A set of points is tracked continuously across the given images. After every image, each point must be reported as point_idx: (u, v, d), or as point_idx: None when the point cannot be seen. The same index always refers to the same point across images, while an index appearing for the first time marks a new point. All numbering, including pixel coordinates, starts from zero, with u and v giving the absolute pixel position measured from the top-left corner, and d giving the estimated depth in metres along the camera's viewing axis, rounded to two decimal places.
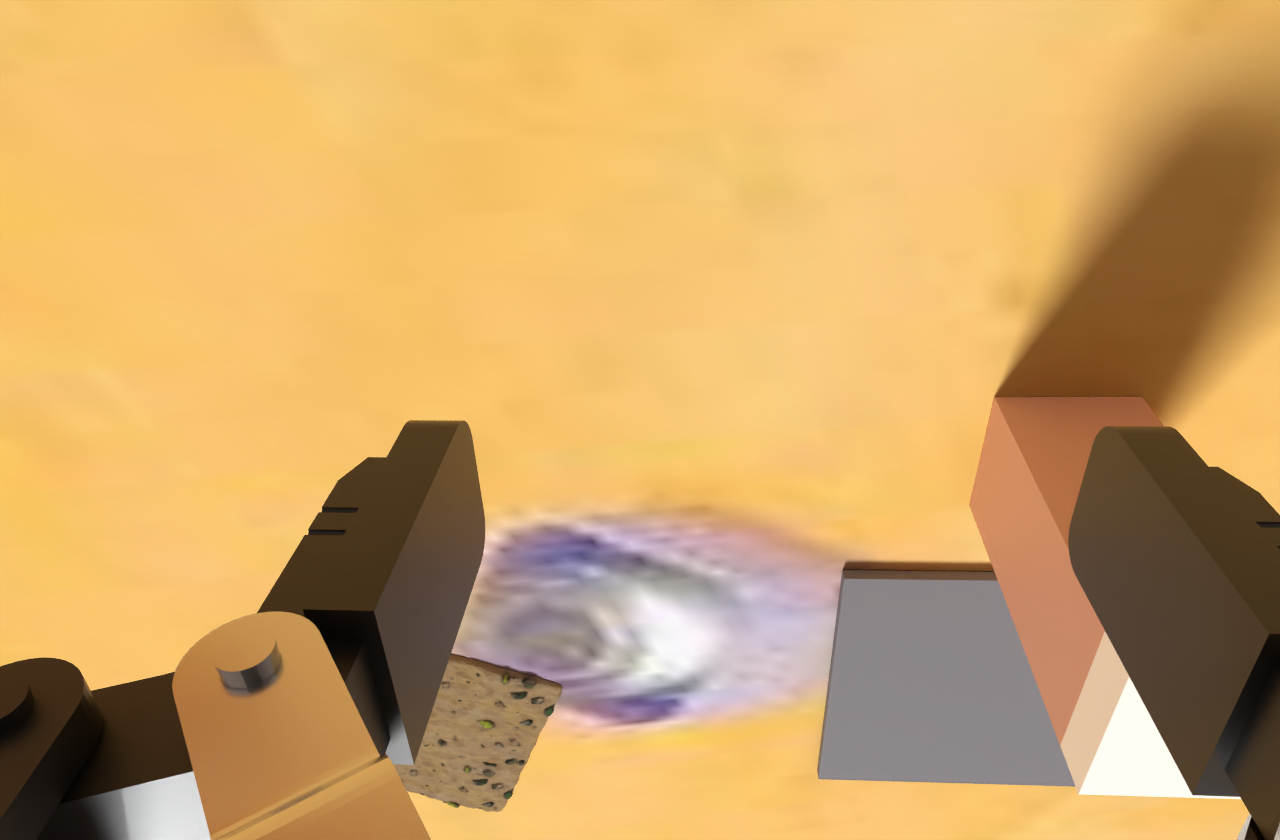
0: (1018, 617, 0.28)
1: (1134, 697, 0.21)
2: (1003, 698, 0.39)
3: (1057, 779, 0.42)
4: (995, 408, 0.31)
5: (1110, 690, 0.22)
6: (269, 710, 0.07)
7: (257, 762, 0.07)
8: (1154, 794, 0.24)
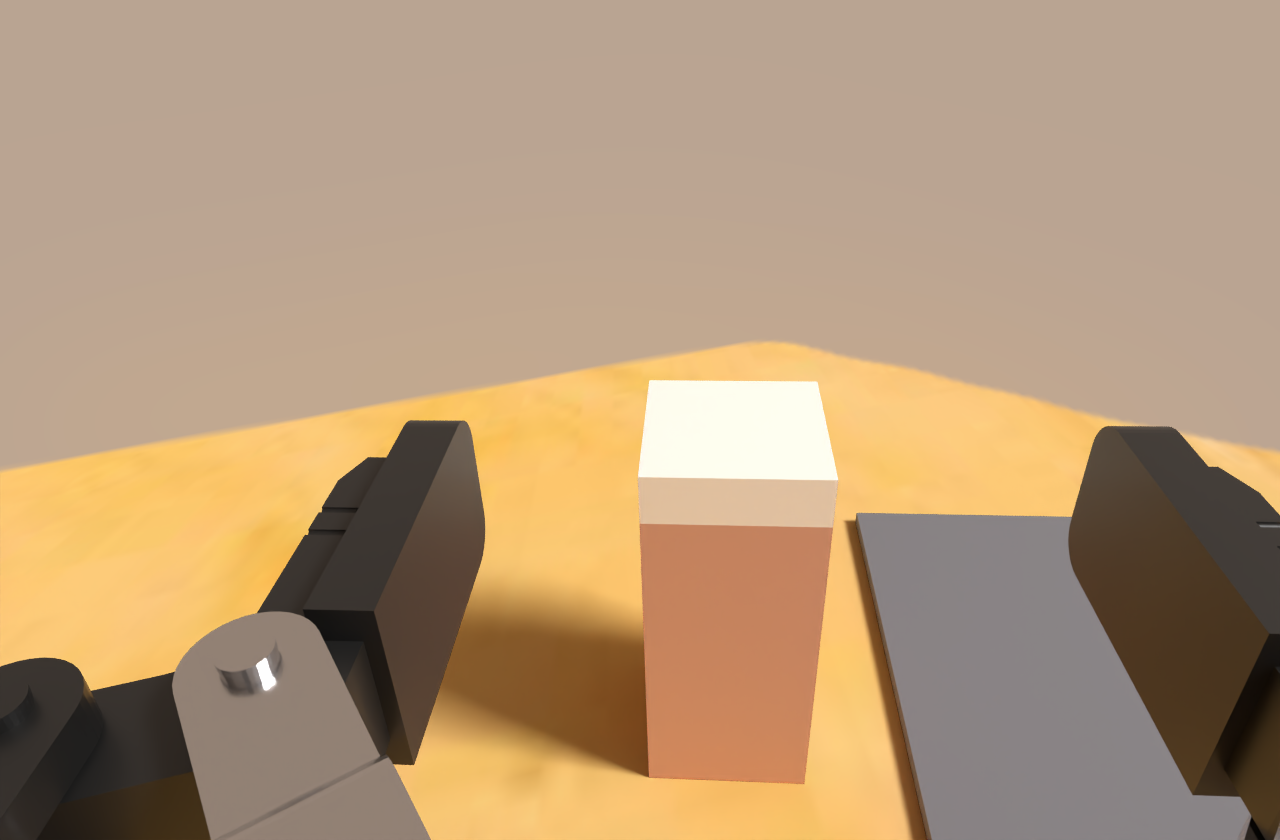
0: (803, 649, 0.25)
1: (671, 470, 0.22)
2: (1120, 703, 0.30)
3: None
4: (657, 771, 0.28)
5: (682, 491, 0.22)
6: (269, 708, 0.07)
7: (257, 761, 0.07)
8: (826, 437, 0.23)
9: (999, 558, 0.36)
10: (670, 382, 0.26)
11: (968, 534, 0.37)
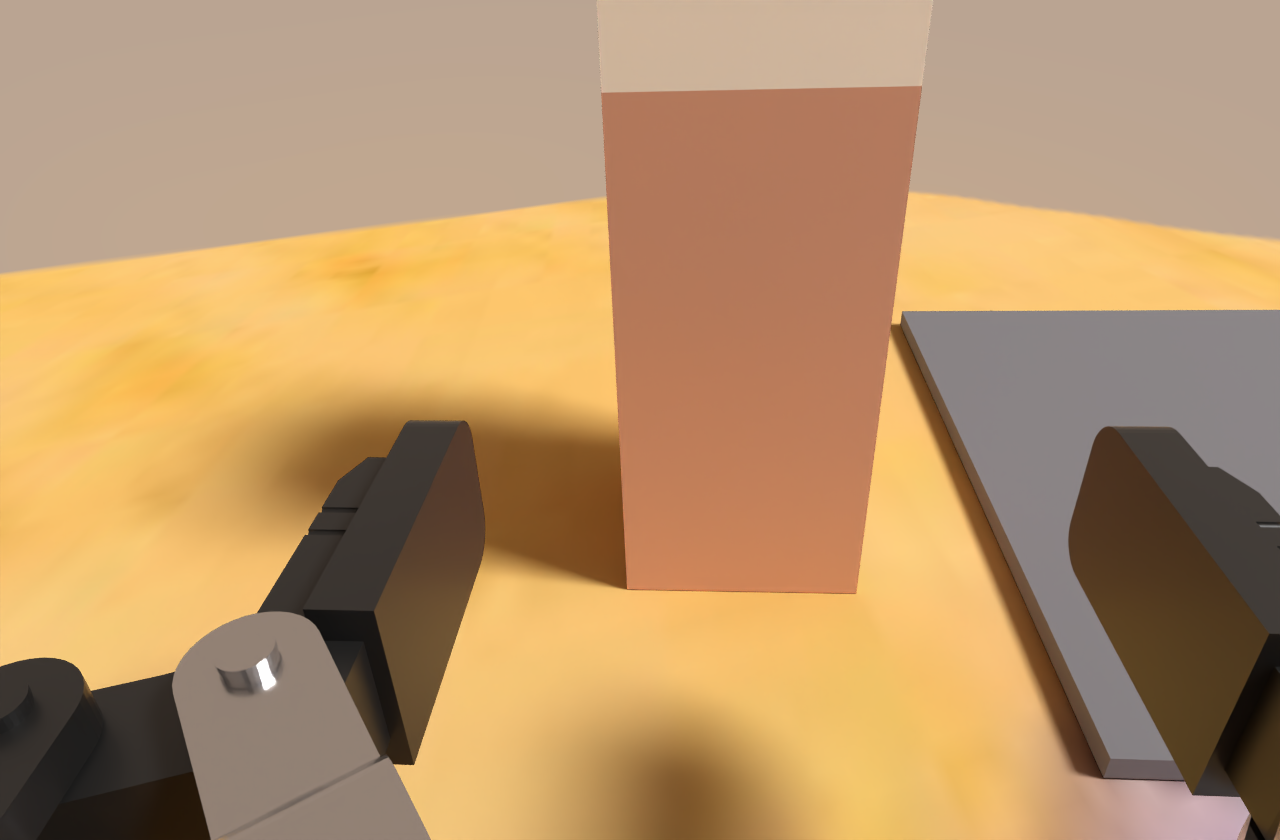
0: (863, 343, 0.16)
1: None
2: None
3: None
4: (639, 578, 0.19)
5: (670, 16, 0.13)
6: (270, 708, 0.07)
7: (257, 762, 0.07)
8: None
9: (1098, 349, 0.27)
10: None
11: (1051, 328, 0.28)
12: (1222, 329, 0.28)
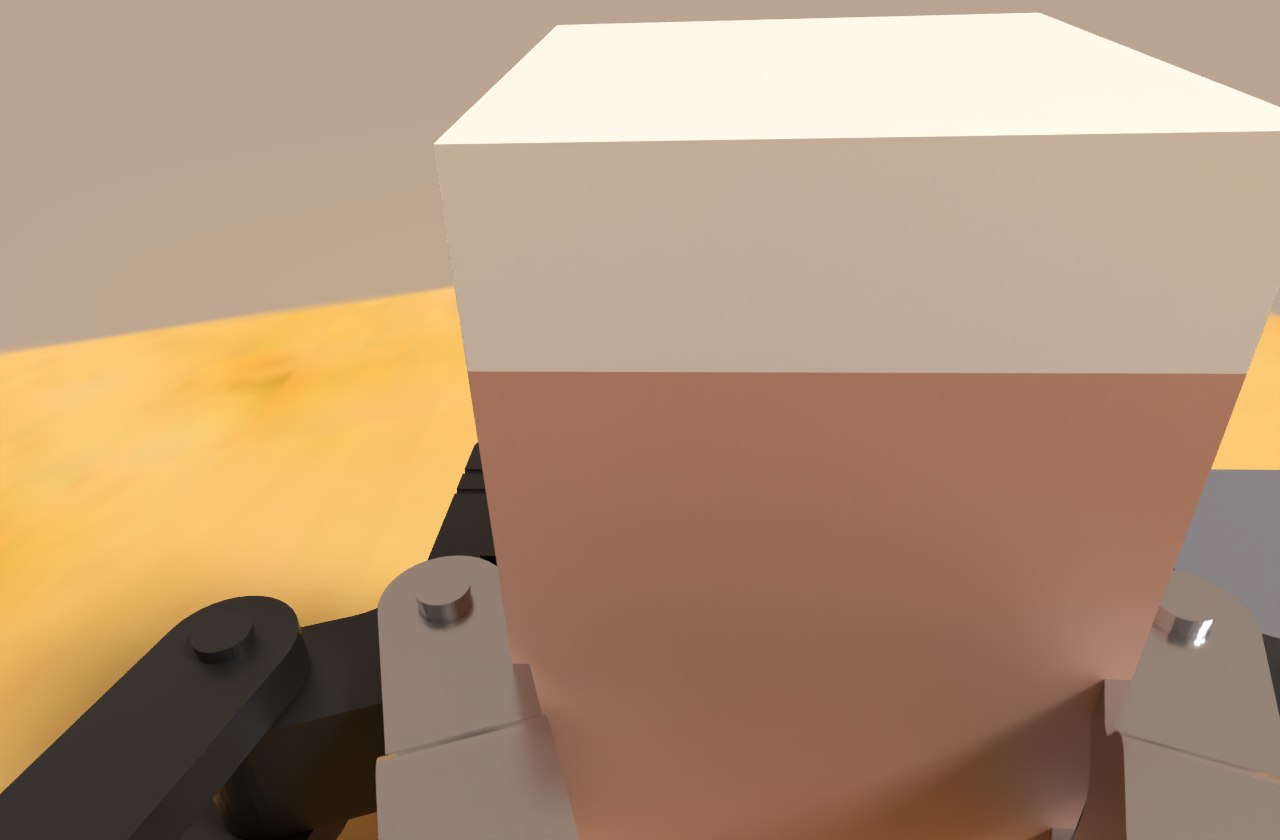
0: (1032, 808, 0.08)
1: (582, 128, 0.05)
2: None
3: None
4: None
5: (626, 213, 0.05)
6: (453, 645, 0.08)
7: (477, 684, 0.07)
8: (1162, 65, 0.06)
9: (1268, 545, 0.19)
10: (615, 24, 0.09)
11: None
12: None
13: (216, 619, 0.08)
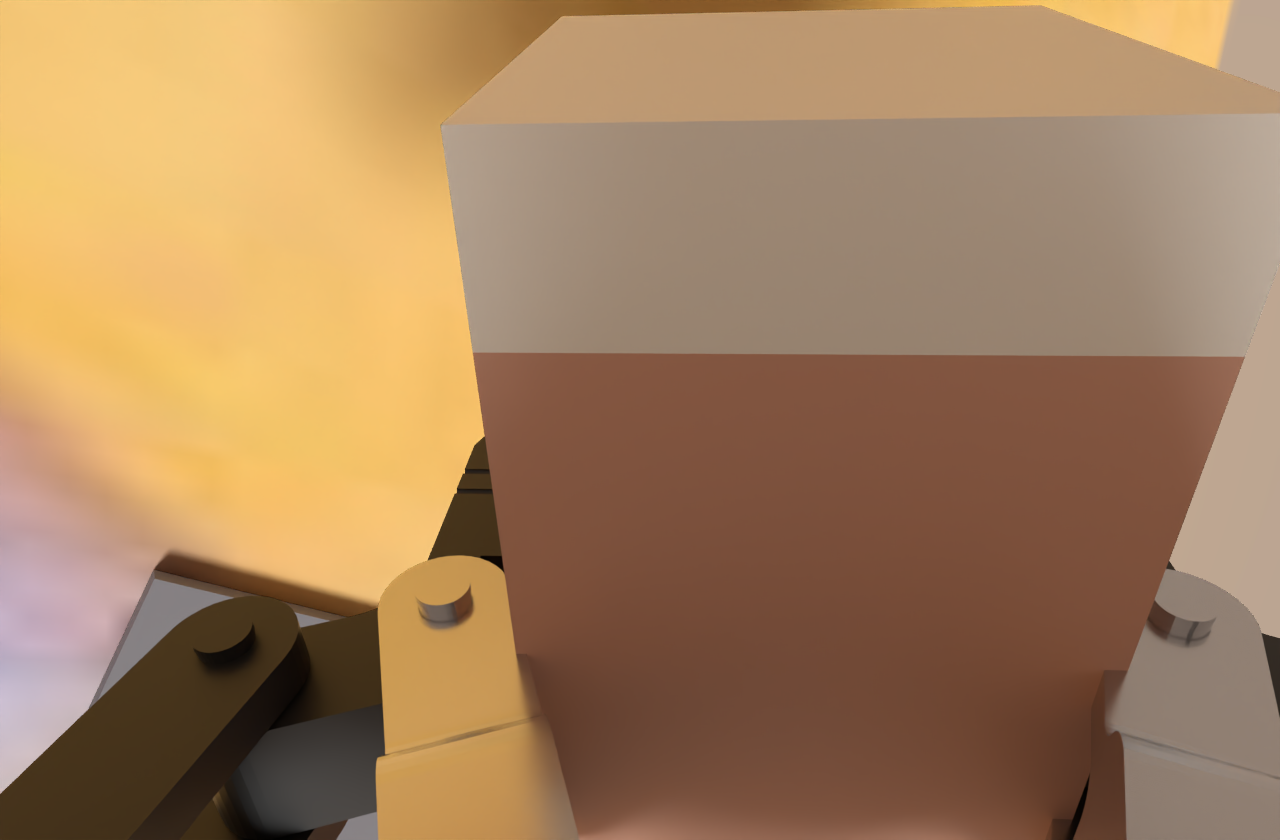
0: (1031, 793, 0.08)
1: (589, 110, 0.05)
2: None
3: None
4: None
5: (631, 194, 0.05)
6: (454, 645, 0.08)
7: (477, 684, 0.07)
8: (1163, 53, 0.06)
9: None
10: (620, 17, 0.09)
11: None
12: None
13: (216, 619, 0.08)
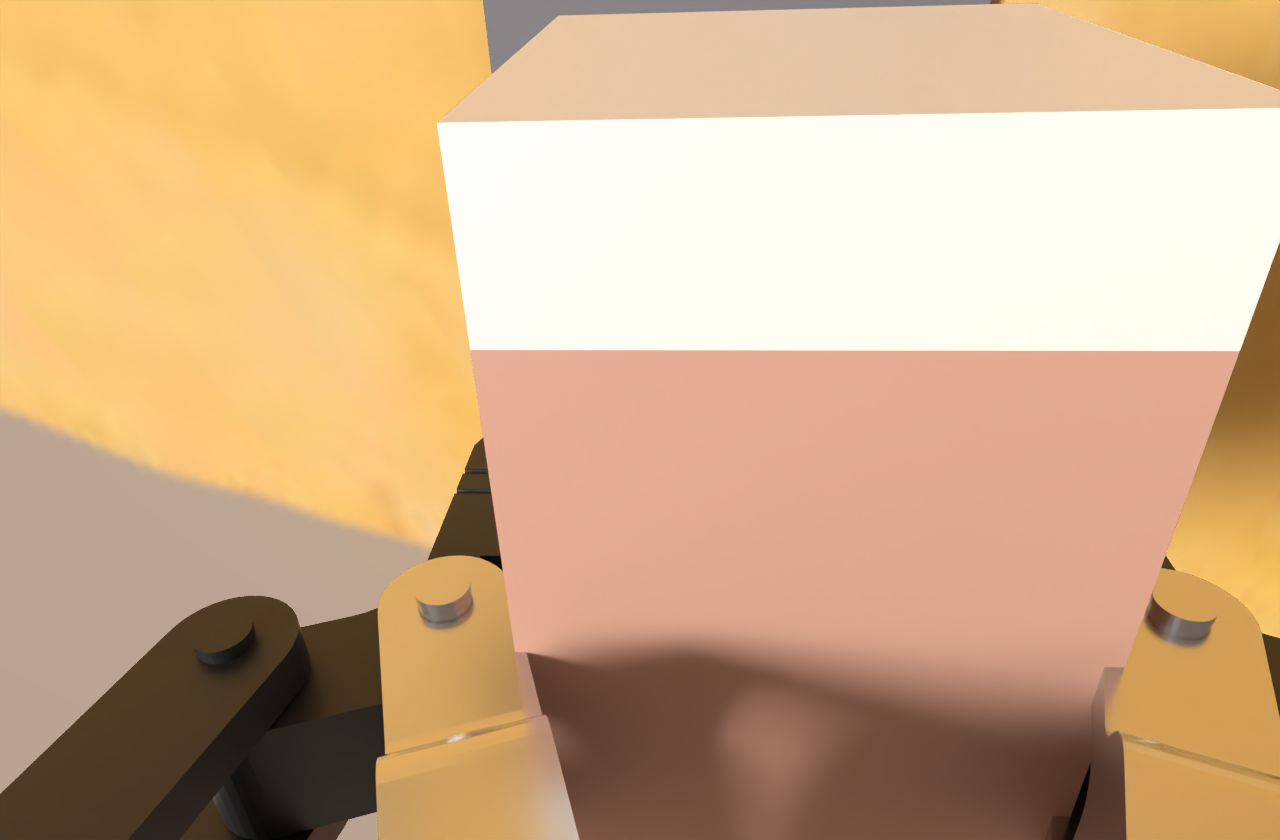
0: (1029, 789, 0.08)
1: (584, 108, 0.05)
2: None
3: None
4: None
5: (627, 191, 0.05)
6: (454, 646, 0.08)
7: (476, 684, 0.07)
8: (1157, 51, 0.06)
9: None
10: (616, 15, 0.09)
11: None
12: None
13: (216, 619, 0.08)
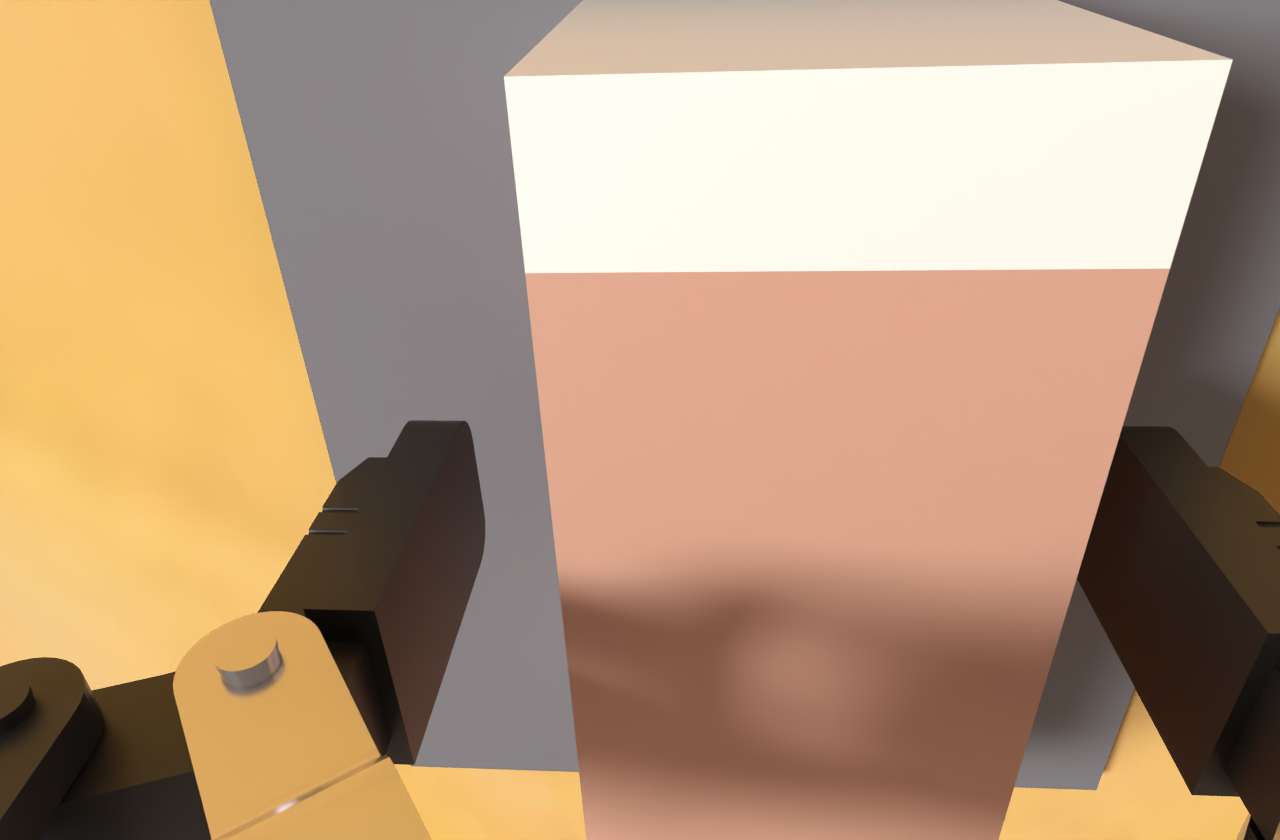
0: (1004, 673, 0.09)
1: (623, 65, 0.07)
2: None
3: None
4: None
5: (660, 134, 0.06)
6: (269, 708, 0.07)
7: (258, 761, 0.07)
8: (1108, 19, 0.08)
9: None
10: None
11: None
12: None
13: None
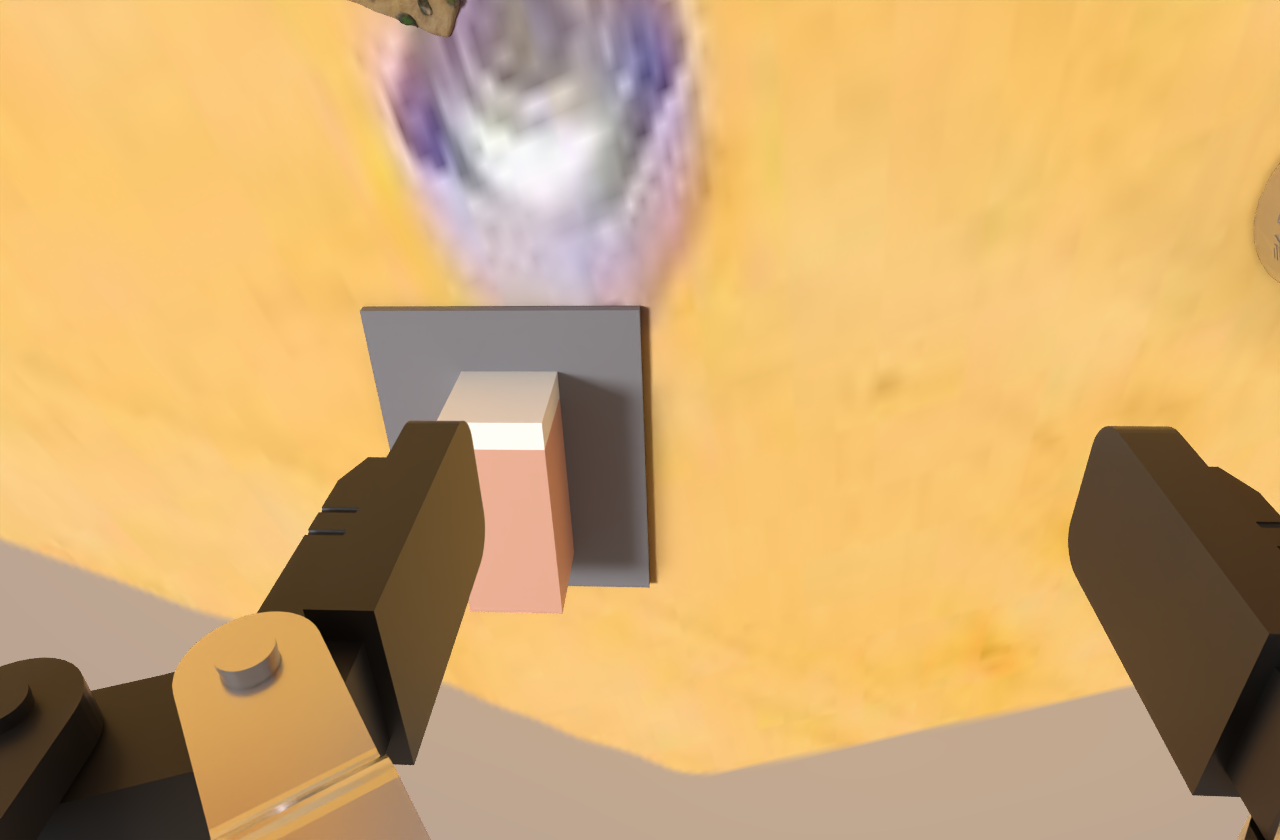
0: (543, 524, 0.44)
1: (455, 418, 0.41)
2: None
3: None
4: (474, 607, 0.47)
5: None
6: (270, 708, 0.07)
7: (257, 761, 0.07)
8: (546, 401, 0.42)
9: None
10: (472, 372, 0.45)
11: (572, 568, 0.52)
12: None
13: None
